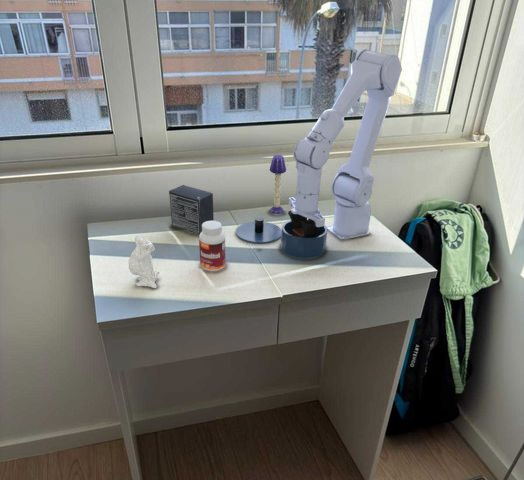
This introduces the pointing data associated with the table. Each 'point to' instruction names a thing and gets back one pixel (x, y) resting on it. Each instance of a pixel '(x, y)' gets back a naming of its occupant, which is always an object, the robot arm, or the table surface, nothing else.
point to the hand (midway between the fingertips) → (303, 241)
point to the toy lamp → (277, 181)
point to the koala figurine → (143, 263)
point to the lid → (258, 231)
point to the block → (298, 232)
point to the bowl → (302, 242)
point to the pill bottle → (212, 246)
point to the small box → (190, 208)
